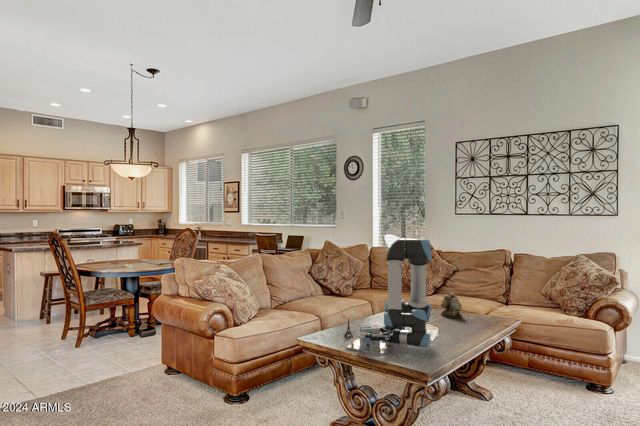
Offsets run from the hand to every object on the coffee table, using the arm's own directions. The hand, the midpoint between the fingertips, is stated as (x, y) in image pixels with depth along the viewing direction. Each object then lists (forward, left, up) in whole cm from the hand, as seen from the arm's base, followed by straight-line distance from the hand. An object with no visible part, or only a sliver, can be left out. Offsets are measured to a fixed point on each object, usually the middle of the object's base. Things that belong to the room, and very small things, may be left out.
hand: (365, 331), depth 247 cm
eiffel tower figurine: (-20, -7, -10) cm, 24 cm away
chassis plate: (+1, +3, -9) cm, 9 cm away
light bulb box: (+1, +3, -8) cm, 9 cm away
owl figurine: (-67, +70, -9) cm, 97 cm away
